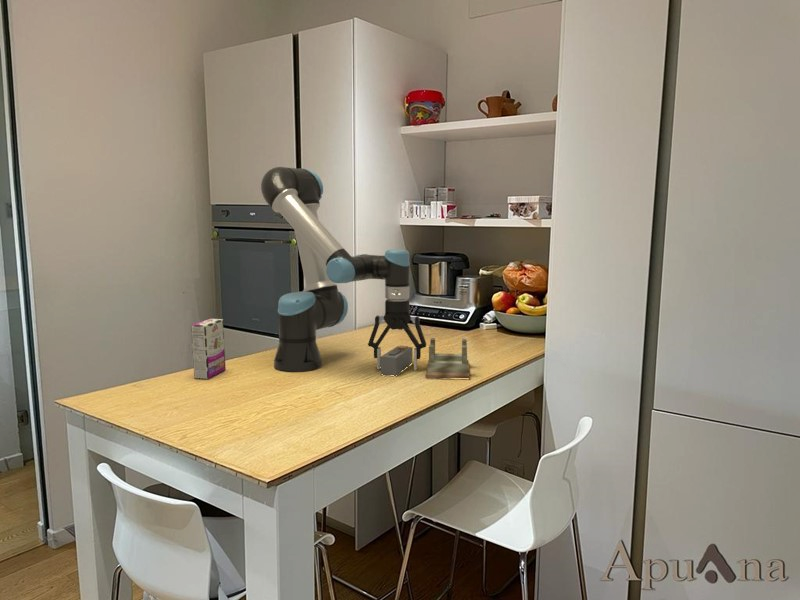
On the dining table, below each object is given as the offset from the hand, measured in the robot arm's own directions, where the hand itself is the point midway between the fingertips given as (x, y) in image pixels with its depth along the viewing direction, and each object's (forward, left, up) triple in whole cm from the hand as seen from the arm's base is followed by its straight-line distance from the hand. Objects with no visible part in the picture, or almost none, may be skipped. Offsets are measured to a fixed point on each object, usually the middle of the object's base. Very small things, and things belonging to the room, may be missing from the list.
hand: (397, 368), depth 195 cm
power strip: (0, 0, 0) cm, 0 cm away
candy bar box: (-56, -12, 0) cm, 57 cm away
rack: (+16, 0, 0) cm, 16 cm away
